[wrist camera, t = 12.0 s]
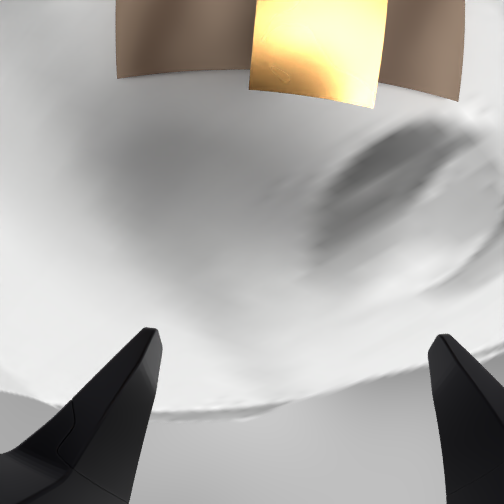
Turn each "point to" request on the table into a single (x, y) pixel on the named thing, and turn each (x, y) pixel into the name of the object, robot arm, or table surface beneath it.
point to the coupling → (319, 48)
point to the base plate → (242, 32)
